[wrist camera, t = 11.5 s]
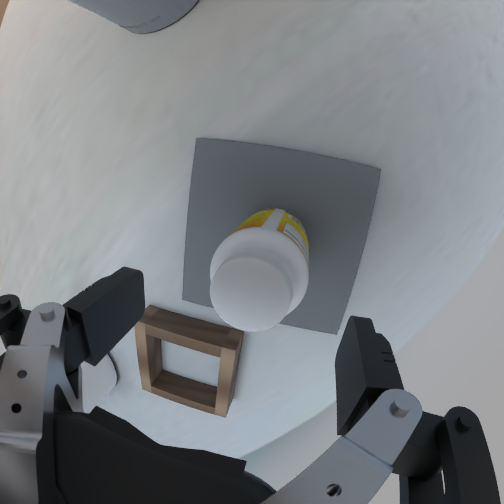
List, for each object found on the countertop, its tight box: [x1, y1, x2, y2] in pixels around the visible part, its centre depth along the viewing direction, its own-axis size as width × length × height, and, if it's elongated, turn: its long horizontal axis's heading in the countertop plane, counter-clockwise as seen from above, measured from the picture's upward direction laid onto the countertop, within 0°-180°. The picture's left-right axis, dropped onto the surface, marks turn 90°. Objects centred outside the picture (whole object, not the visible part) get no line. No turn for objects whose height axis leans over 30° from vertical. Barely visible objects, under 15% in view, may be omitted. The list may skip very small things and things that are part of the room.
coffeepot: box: [4, 349, 117, 413], centre depth 23 cm, size 11×25×19 cm, turn 160°
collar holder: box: [134, 305, 244, 418], centre depth 26 cm, size 10×10×3 cm
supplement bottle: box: [210, 208, 309, 332], centre depth 17 cm, size 5×5×10 cm
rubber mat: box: [182, 138, 381, 335], centre depth 22 cm, size 14×14×1 cm
